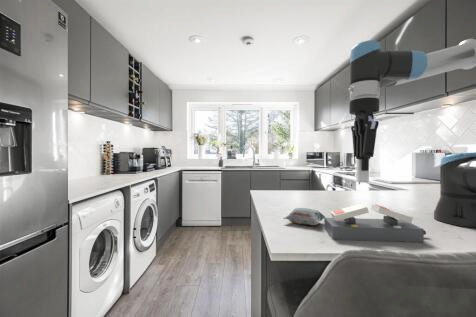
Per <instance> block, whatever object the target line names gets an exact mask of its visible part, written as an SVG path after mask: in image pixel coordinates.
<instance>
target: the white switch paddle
mask: <svg viewBox="0 0 476 317" xmlns="http://www.w3.org/2000/svg"><path fill="white" fill-rule="evenodd" d="M368 213H369V209H368V206H366V205H364V204H363V203H359V204H354V205H351V206H350V205H349V206H347V207H344V208H340V209H337V210H333V211H332V210H331V211H330V215H331V218H334V219H335V220H336V221H339V220H343V219H346V218H350V217H354V218H355V217H357V216H361V215H365V214H368Z"/></svg>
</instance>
